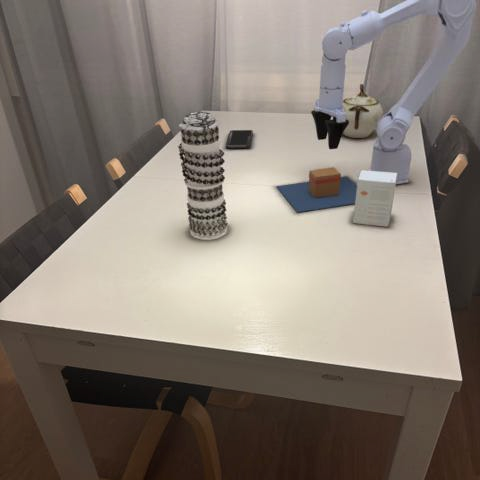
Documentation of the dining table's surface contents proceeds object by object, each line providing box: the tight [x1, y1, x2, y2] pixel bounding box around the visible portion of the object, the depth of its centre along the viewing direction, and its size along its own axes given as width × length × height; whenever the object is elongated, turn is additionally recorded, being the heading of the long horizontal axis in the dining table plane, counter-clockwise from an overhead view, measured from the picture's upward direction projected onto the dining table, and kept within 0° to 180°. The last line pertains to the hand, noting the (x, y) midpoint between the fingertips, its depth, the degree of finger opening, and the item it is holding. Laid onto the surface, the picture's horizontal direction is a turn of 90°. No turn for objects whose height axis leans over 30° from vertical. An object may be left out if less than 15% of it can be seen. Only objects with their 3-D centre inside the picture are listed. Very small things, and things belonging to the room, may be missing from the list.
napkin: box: [276, 175, 357, 214], centre depth 120 cm, size 20×16×1 cm
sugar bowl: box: [342, 83, 384, 139], centre depth 151 cm, size 20×15×15 cm
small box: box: [352, 169, 397, 228], centre depth 105 cm, size 8×6×10 cm
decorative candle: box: [177, 111, 228, 241], centre depth 100 cm, size 9×9×25 cm
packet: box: [308, 166, 342, 198], centre depth 119 cm, size 7×5×6 cm
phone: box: [225, 129, 254, 150], centre depth 154 cm, size 8×1×15 cm
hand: (327, 143), depth 122 cm, fingers open, 7 cm apart
